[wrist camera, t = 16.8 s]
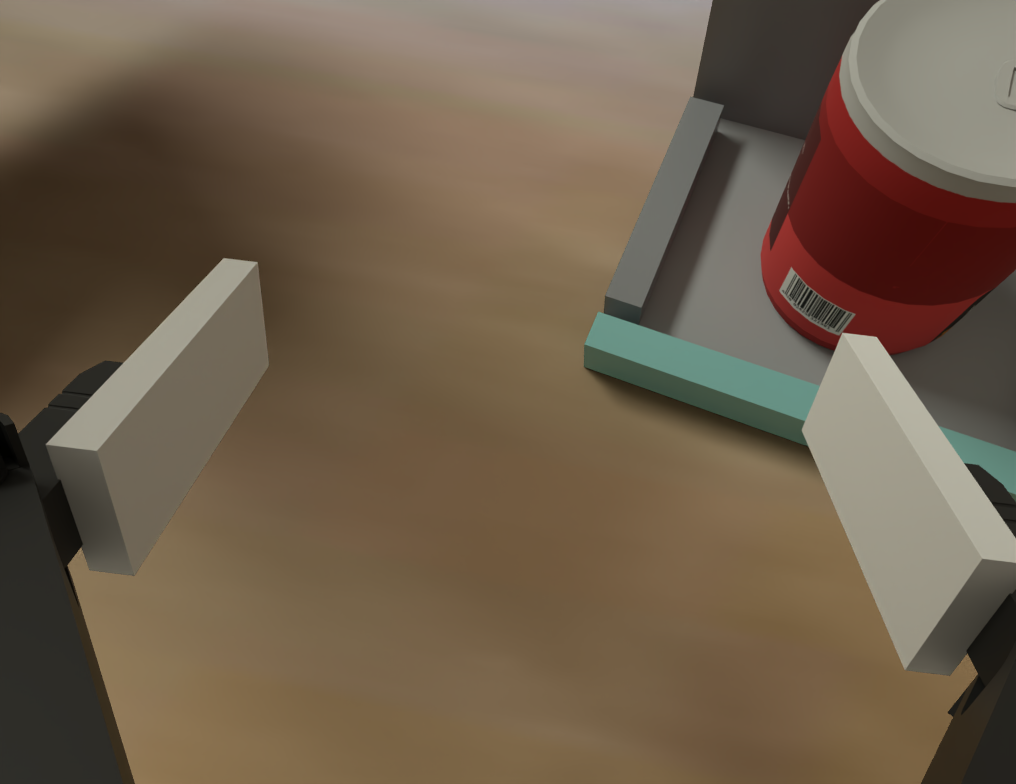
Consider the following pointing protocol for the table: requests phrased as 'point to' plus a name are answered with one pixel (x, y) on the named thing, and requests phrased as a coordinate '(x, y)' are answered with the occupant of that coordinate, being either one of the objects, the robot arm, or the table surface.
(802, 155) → the canned food
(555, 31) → the table surface
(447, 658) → the table surface
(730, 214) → the tray with upright backboard
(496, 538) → the table surface
